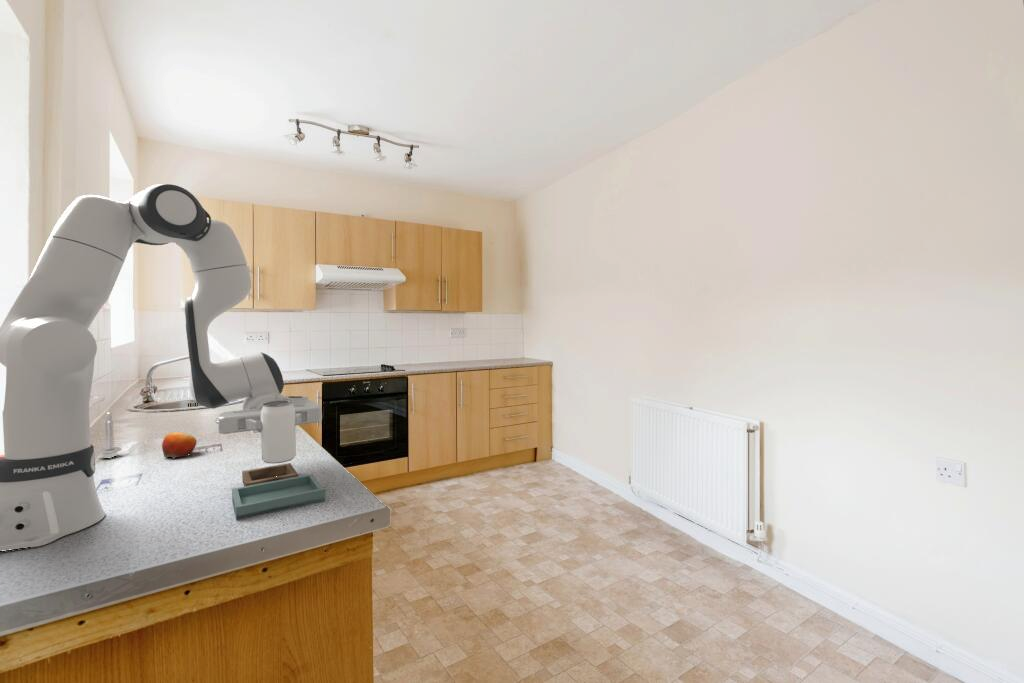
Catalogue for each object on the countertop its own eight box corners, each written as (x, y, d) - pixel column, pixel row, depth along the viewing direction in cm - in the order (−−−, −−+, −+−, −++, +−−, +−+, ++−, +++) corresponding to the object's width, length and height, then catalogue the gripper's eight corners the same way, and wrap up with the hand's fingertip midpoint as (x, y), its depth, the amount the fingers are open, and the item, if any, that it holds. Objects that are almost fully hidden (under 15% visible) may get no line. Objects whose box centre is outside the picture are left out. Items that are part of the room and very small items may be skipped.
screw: (120, 458, 127) (97, 461, 124) (122, 454, 130) (100, 457, 128) (118, 412, 126) (95, 414, 123) (120, 409, 130) (98, 411, 127)
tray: (236, 520, 86) (236, 507, 86) (232, 500, 96) (231, 488, 95) (325, 500, 95) (324, 489, 95) (312, 484, 105) (312, 473, 105)
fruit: (147, 456, 123) (161, 428, 127) (171, 463, 130) (184, 436, 134) (170, 458, 121) (184, 429, 125) (194, 465, 128) (206, 437, 132)
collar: (246, 494, 99) (246, 483, 99) (242, 481, 107) (242, 471, 107) (298, 484, 105) (298, 474, 105) (290, 472, 113) (290, 463, 113)
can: (283, 464, 92) (282, 407, 91) (254, 463, 93) (253, 405, 92) (302, 454, 98) (301, 400, 97) (274, 453, 99) (273, 399, 98)
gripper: (214, 404, 99) (217, 415, 88) (313, 395, 111) (327, 403, 100) (215, 433, 99) (218, 447, 88) (314, 421, 111) (327, 432, 100)
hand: (277, 424), depth 94 cm, fingers closed on can, 6 cm apart
